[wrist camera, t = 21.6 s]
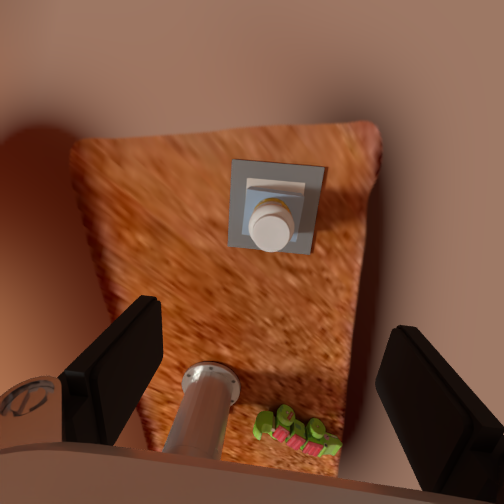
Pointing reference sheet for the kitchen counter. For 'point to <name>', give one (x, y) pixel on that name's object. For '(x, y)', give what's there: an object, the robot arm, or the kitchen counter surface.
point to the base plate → (275, 178)
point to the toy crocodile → (296, 432)
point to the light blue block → (289, 198)
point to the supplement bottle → (271, 224)
